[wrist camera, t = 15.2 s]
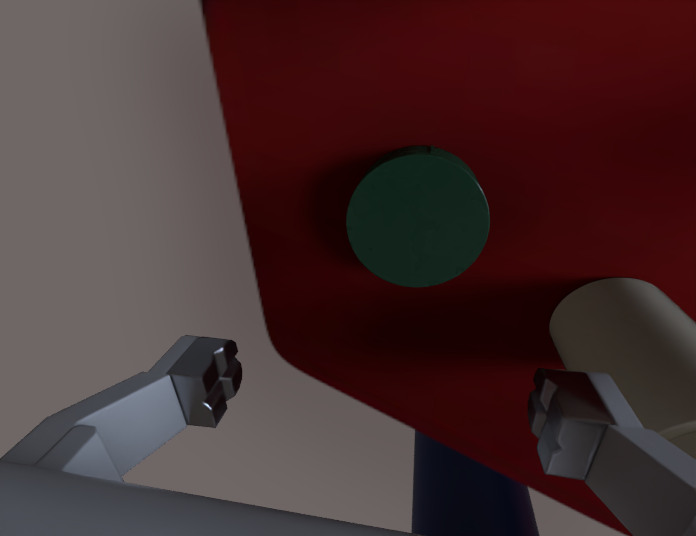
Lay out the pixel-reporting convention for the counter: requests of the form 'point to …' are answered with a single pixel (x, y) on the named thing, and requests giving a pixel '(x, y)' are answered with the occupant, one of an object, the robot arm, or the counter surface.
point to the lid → (418, 217)
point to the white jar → (634, 351)
